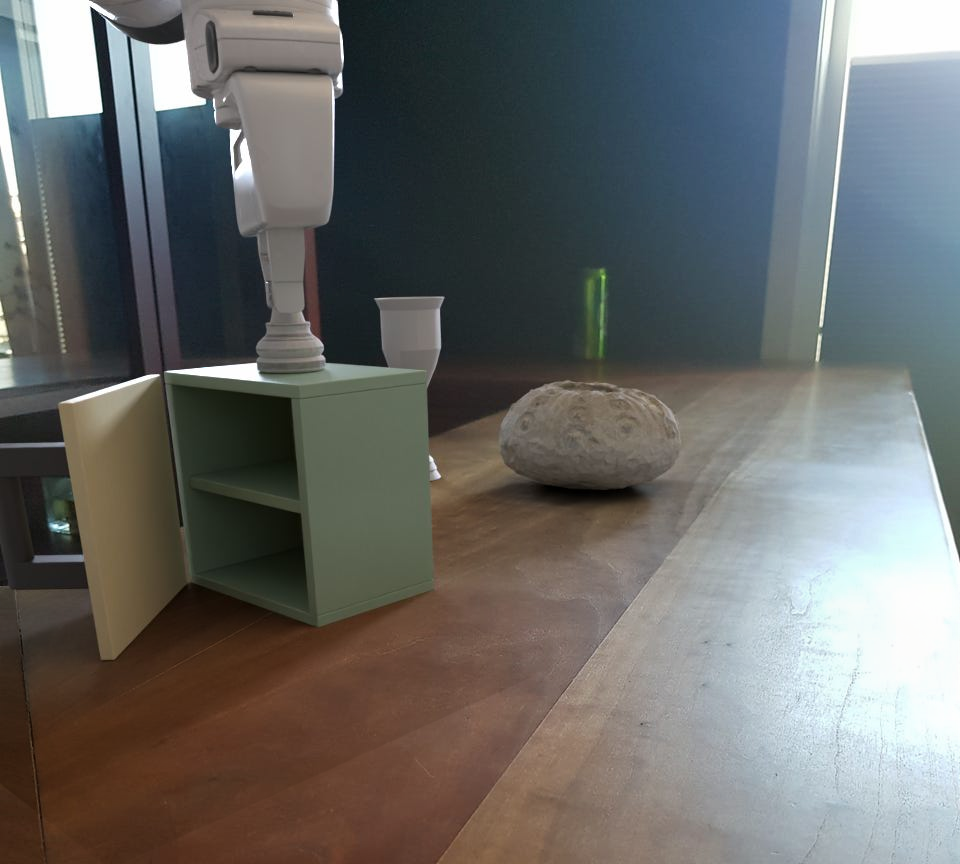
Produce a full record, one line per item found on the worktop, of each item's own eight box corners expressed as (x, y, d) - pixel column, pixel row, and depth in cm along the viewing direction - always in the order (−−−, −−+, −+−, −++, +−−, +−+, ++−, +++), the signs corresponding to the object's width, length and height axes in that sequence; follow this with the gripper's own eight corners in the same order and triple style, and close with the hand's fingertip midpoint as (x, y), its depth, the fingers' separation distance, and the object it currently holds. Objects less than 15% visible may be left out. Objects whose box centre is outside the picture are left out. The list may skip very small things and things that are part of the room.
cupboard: (318, 628, 60) (298, 384, 55) (190, 583, 70) (163, 371, 64) (434, 590, 67) (426, 370, 62) (303, 553, 76) (287, 359, 71)
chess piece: (242, 372, 62) (225, 200, 59) (284, 366, 66) (270, 204, 62) (300, 374, 60) (285, 197, 57) (339, 367, 64) (328, 200, 61)
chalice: (414, 468, 109) (406, 296, 102) (463, 474, 105) (458, 296, 98) (370, 480, 103) (359, 299, 97) (420, 486, 99) (412, 299, 93)
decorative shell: (678, 470, 105) (683, 374, 101) (680, 508, 88) (686, 395, 85) (512, 468, 108) (512, 374, 104) (485, 504, 91) (483, 394, 88)
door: (7, 662, 55) (-46, 405, 50) (101, 584, 69) (67, 376, 64) (114, 660, 55) (72, 402, 50) (187, 583, 69) (160, 374, 64)
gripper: (202, 90, 65) (225, 308, 70) (217, 17, 47) (246, 319, 52) (297, 92, 67) (313, 305, 72) (348, 24, 49) (364, 316, 54)
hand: (285, 311), depth 62 cm, fingers closed on chess piece, 2 cm apart
